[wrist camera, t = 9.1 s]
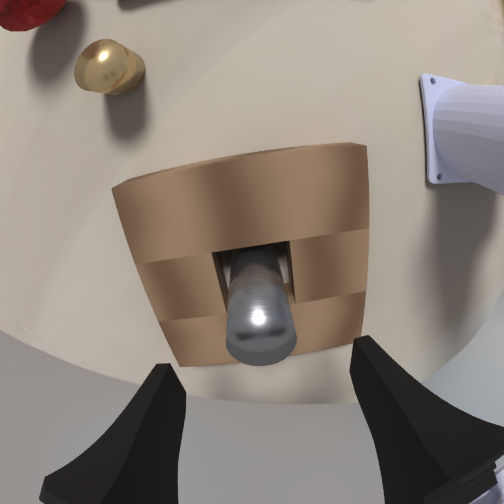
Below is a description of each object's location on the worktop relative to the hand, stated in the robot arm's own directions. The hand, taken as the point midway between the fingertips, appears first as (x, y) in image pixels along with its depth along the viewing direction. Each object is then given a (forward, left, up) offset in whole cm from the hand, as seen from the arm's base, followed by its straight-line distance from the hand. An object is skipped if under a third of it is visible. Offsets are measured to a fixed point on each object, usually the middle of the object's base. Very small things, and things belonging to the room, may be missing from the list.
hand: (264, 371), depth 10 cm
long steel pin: (0, 0, -9) cm, 9 cm away
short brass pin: (+6, -14, -9) cm, 18 cm away
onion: (+11, -23, -10) cm, 27 cm away
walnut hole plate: (0, 0, -9) cm, 9 cm away
